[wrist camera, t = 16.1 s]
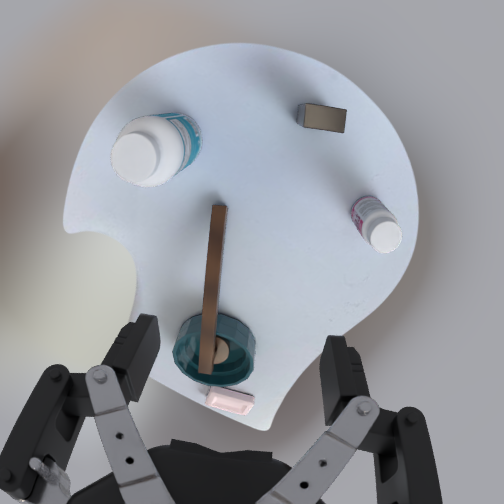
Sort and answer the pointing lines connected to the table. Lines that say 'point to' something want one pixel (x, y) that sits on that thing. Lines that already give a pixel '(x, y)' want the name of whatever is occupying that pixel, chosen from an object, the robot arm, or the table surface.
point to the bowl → (223, 373)
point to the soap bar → (229, 400)
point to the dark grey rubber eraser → (321, 117)
